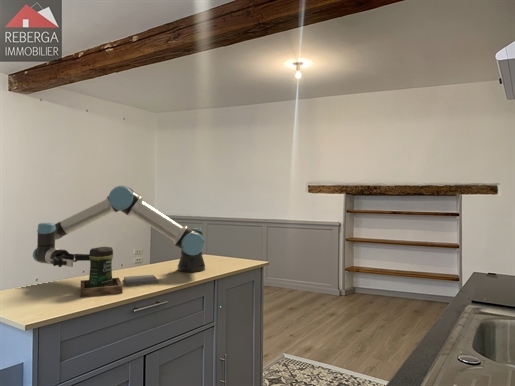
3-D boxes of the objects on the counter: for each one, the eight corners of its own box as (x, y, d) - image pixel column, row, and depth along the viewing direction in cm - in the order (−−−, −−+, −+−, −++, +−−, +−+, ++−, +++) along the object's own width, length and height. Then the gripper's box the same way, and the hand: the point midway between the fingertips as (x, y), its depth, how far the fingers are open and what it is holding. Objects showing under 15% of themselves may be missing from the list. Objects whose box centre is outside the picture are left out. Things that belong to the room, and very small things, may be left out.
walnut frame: (118, 284, 176) (118, 277, 176) (122, 293, 159) (122, 285, 159) (80, 287, 169) (80, 280, 169) (80, 297, 153) (80, 289, 153)
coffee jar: (98, 293, 158) (99, 248, 158) (84, 291, 162) (85, 247, 162) (116, 288, 167) (116, 246, 167) (102, 286, 170) (103, 245, 171)
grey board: (153, 277, 191) (153, 274, 191) (158, 283, 179) (158, 279, 179) (123, 279, 185) (123, 276, 185) (126, 285, 173) (126, 282, 173)
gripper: (81, 261, 191) (109, 265, 180) (30, 269, 169) (59, 274, 158) (81, 246, 191) (110, 249, 180) (31, 252, 169) (59, 256, 159)
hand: (86, 261), depth 169 cm, fingers open, 13 cm apart
